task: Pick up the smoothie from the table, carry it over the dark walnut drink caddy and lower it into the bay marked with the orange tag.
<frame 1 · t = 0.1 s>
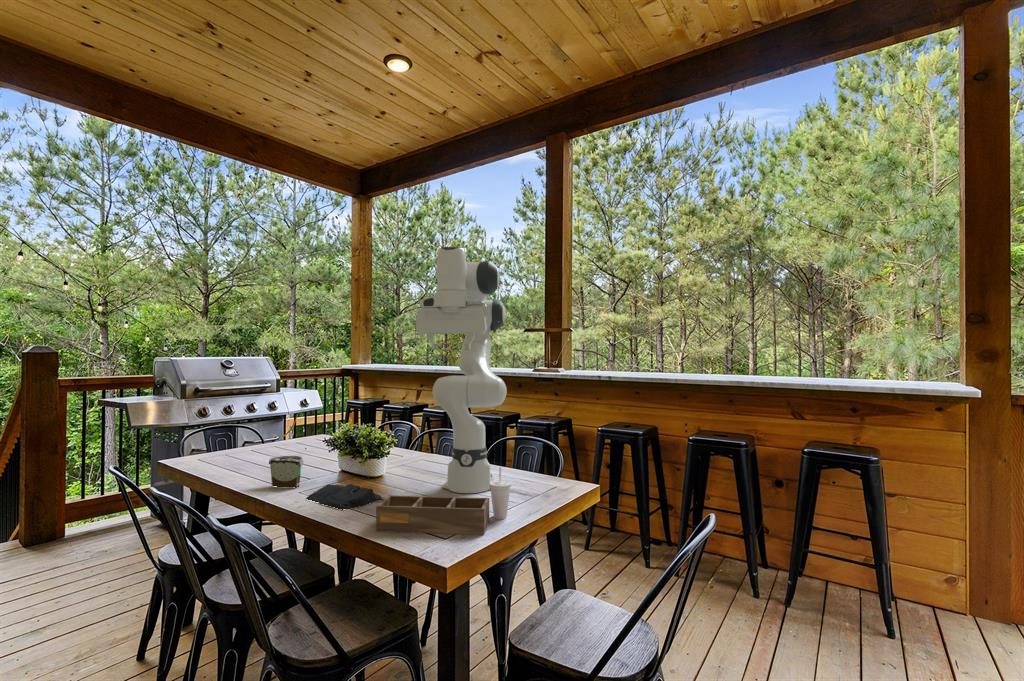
hand: (451, 349, 143), 48 cm above the table, tool pointing down, fingers open, 8 cm apart
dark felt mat: (343, 501, 159), on the table
food container: (289, 486, 176), on the table
smoothie: (500, 517, 142), on the table
caddy: (434, 526, 135), on the table
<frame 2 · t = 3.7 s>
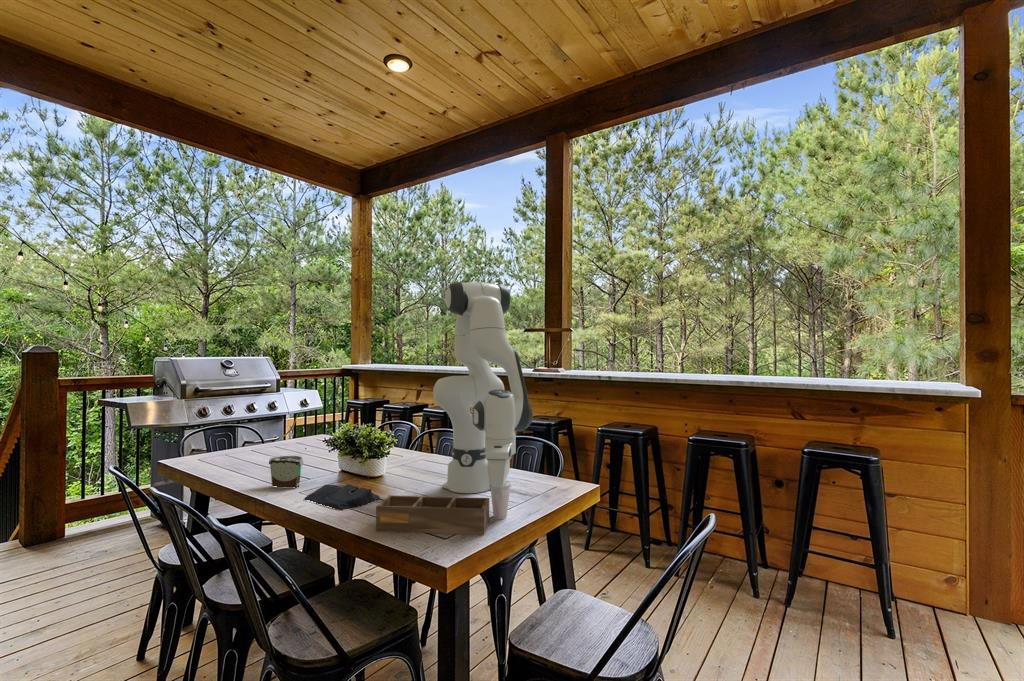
hand: (500, 495, 142), 6 cm above the table, tool pointing down, fingers open, 6 cm apart
smoothie: (500, 517, 142), on the table, touching gripper
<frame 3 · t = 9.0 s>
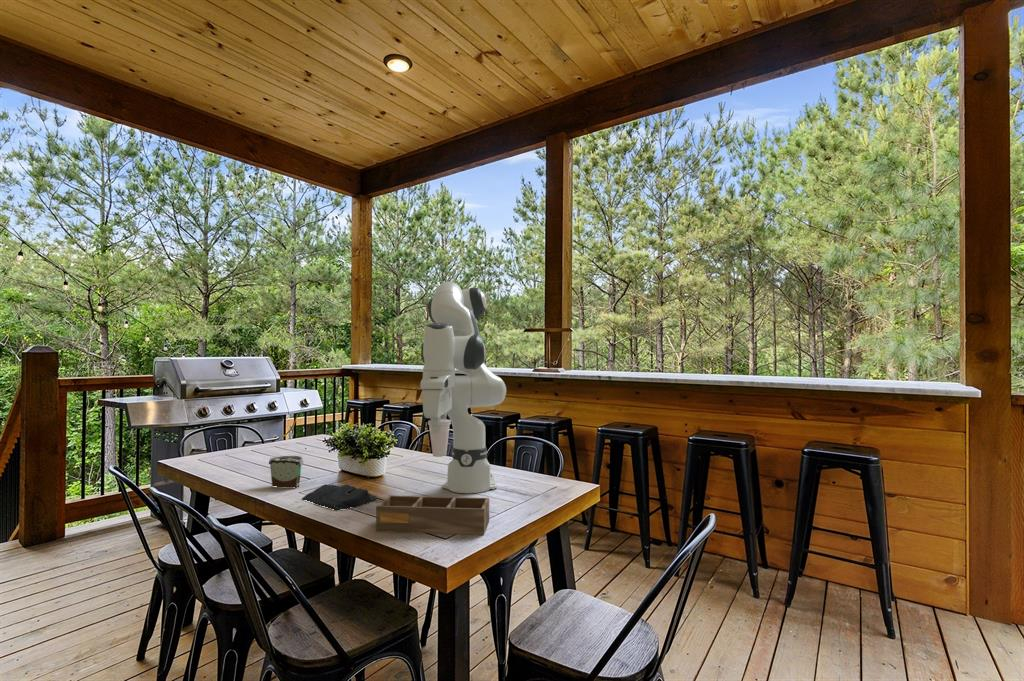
hand: (438, 430, 138), 25 cm above the table, tool pointing down, fingers closed on smoothie, 6 cm apart
smoothie: (439, 456, 138), point 18 cm above the table, touching gripper
when the fingers open (10 cm above the table, at t = 14.1 s): smoothie moves 1 cm, resting on caddy.
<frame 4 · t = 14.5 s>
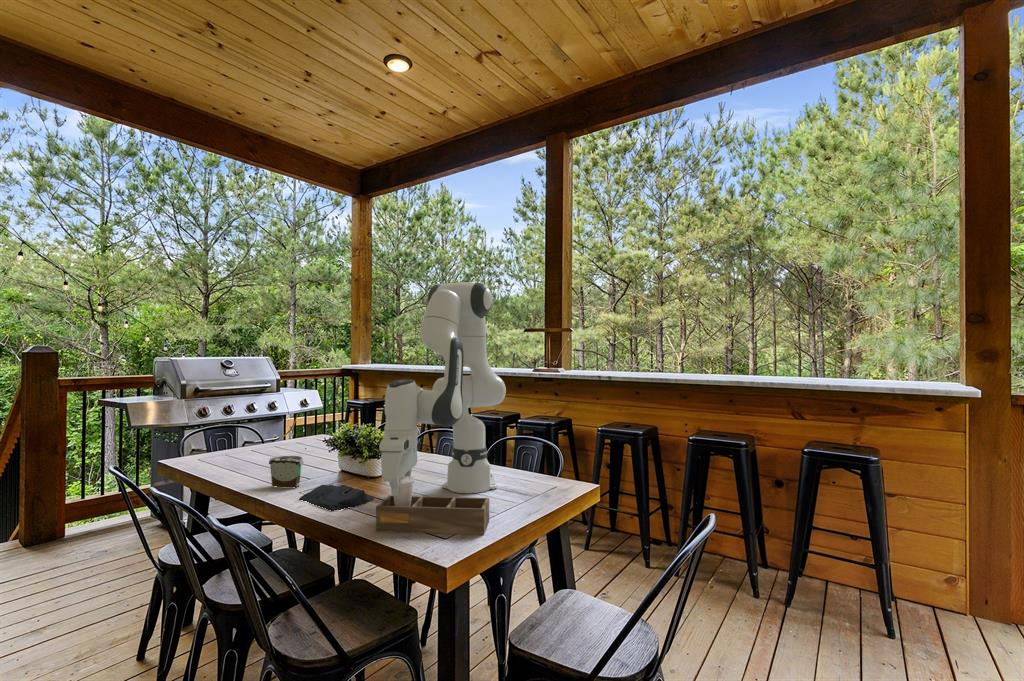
hand: (400, 489, 136), 10 cm above the table, tool pointing down, fingers open, 8 cm apart
smoothie: (402, 514, 137), point 2 cm above the table, touching caddy, gripper
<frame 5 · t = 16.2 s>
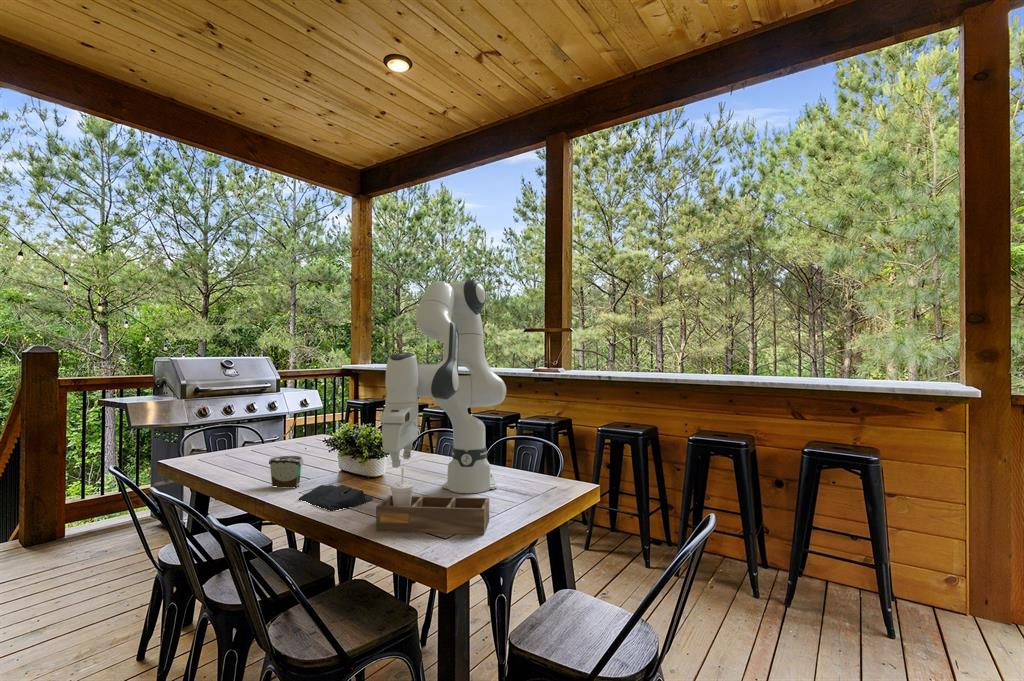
hand: (401, 462, 136), 17 cm above the table, tool pointing down, fingers open, 8 cm apart
smoothie: (402, 520, 136), point 1 cm above the table, touching caddy
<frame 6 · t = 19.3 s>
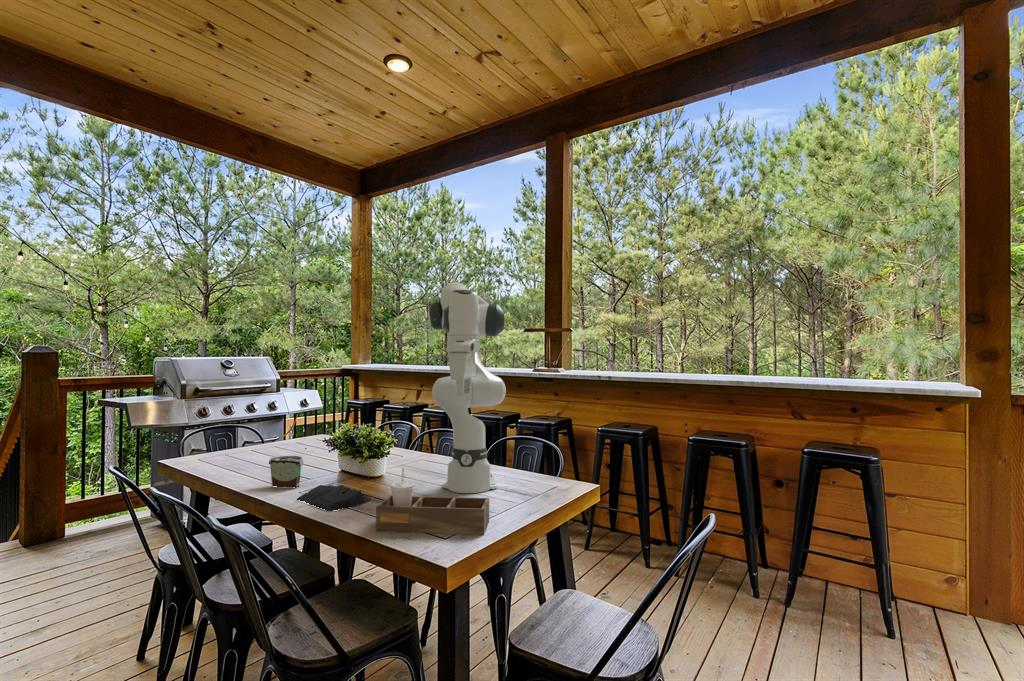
hand: (463, 394, 141), 35 cm above the table, tool pointing down, fingers open, 8 cm apart
at the end: smoothie 0.7 cm from the target spot on the caddy, point 1.0 cm above the caddy's base; smoothie tilted 0°; the gripper is holding nothing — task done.
